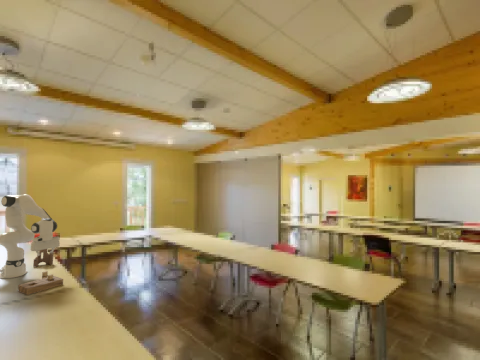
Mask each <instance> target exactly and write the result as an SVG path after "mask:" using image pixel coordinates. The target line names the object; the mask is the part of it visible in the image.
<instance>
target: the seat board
mask: <svg viewBox="0 0 480 360" xmlns="http://www.w3.org/2000/svg"><path fill="white" fill-rule="evenodd" d="M47 279H48V277H47V278H43V279H42V278H41V279H37V280H33V281H32V280H31V281H29V282H25V283H21V284H18V287H17V288H18V289H17V291H18V292H19V293H22V294H25V295H27V296H29V295H33V294H35V293H38V292H42V291H45V290H49V289H51V288H54V287H55V286H56V287H58V286H61V285H64V278H62V277H59V276H56V275H53V280H50V281H47Z"/></svg>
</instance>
